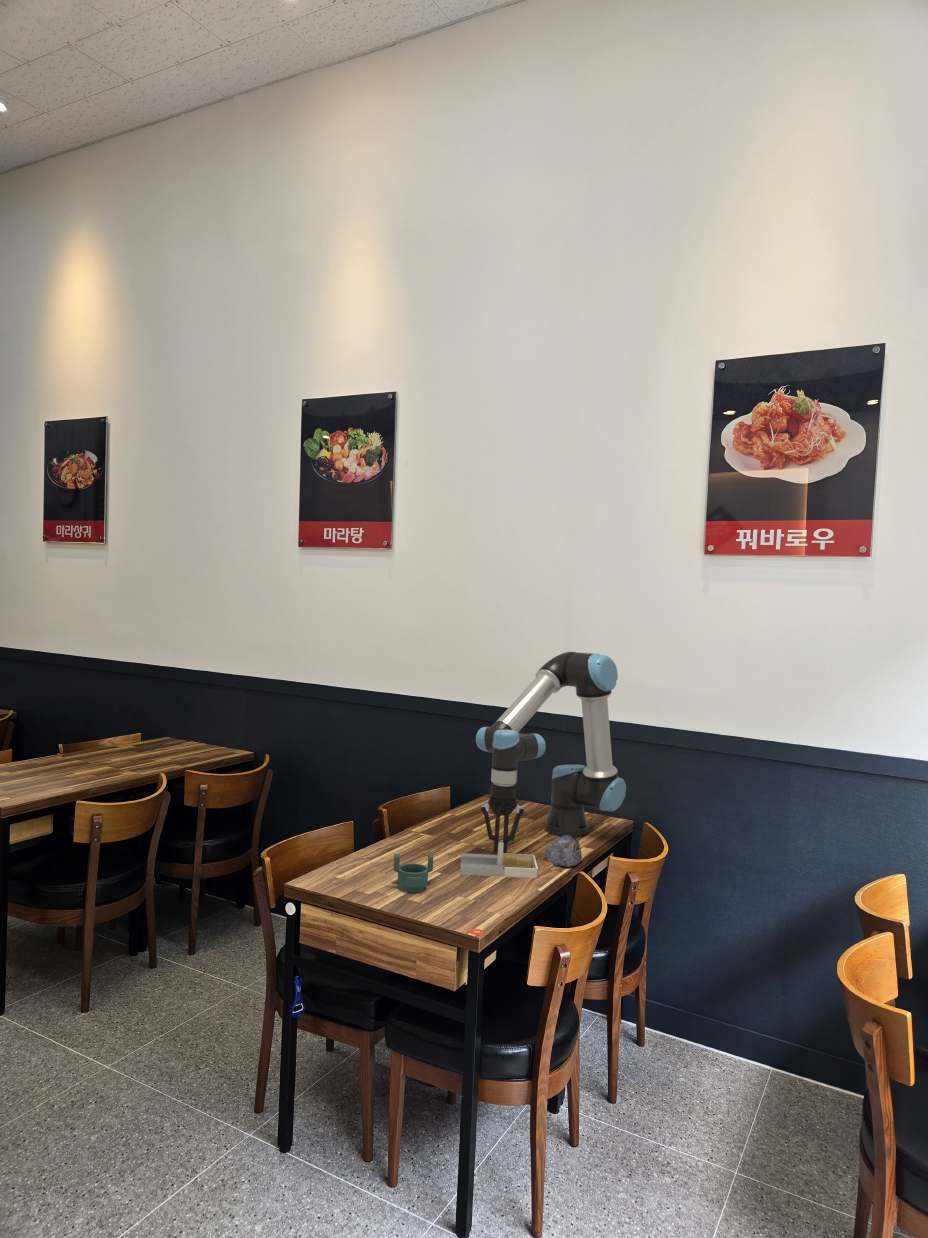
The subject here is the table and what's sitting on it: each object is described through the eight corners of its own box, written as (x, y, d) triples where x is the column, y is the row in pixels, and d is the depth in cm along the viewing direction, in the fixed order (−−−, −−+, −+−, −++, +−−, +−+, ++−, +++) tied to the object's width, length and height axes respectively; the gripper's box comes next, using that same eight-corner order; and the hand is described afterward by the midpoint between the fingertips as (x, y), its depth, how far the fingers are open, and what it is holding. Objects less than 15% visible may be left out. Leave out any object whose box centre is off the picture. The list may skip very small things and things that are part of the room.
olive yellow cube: (515, 866, 230) (515, 853, 230) (515, 871, 226) (516, 857, 226) (501, 866, 230) (502, 852, 230) (502, 870, 226) (502, 857, 226)
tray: (533, 866, 235) (534, 855, 235) (537, 881, 222) (538, 869, 222) (502, 865, 235) (502, 853, 235) (504, 880, 222) (504, 867, 222)
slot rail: (502, 865, 235) (502, 855, 235) (504, 880, 222) (504, 869, 222) (460, 863, 235) (461, 853, 235) (460, 877, 222) (460, 867, 222)
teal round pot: (389, 886, 212) (391, 854, 212) (414, 879, 219) (415, 847, 219) (412, 896, 206) (413, 863, 206) (436, 888, 213) (438, 855, 212)
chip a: (528, 870, 230) (529, 856, 230) (529, 874, 226) (530, 860, 226) (515, 869, 230) (515, 855, 230) (516, 874, 226) (516, 860, 226)
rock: (585, 852, 243) (576, 827, 239) (579, 876, 235) (570, 851, 231) (553, 853, 248) (544, 828, 244) (545, 877, 239) (536, 852, 235)
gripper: (525, 781, 232) (521, 860, 232) (481, 779, 232) (477, 858, 232) (527, 787, 224) (522, 869, 224) (481, 785, 224) (477, 867, 224)
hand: (499, 863), depth 228 cm, fingers closed
